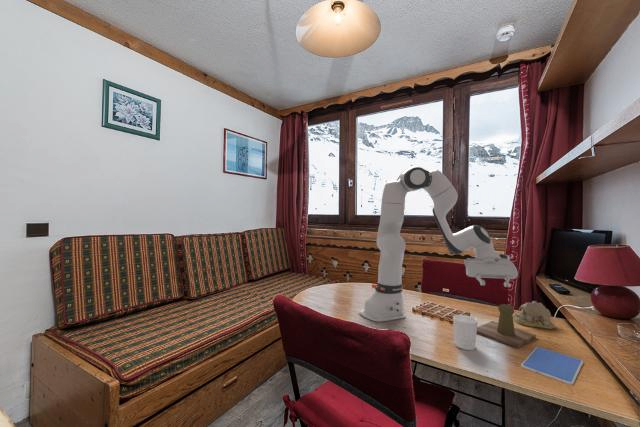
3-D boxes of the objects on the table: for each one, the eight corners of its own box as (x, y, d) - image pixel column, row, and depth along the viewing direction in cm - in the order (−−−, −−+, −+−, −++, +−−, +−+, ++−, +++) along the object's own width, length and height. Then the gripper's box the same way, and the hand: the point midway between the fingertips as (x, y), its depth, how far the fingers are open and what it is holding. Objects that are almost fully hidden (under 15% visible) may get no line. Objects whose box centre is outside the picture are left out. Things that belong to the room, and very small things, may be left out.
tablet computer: (572, 387, 79) (572, 383, 79) (519, 368, 89) (519, 364, 89) (583, 364, 91) (583, 360, 91) (536, 349, 101) (536, 345, 101)
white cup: (476, 353, 97) (476, 324, 97) (451, 347, 101) (451, 319, 101) (477, 344, 103) (478, 317, 103) (454, 338, 108) (454, 313, 108)
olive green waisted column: (512, 330, 113) (512, 303, 112) (517, 337, 107) (517, 308, 107) (495, 328, 115) (495, 301, 114) (499, 334, 109) (499, 306, 109)
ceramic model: (542, 319, 128) (542, 298, 128) (560, 330, 117) (561, 306, 116) (509, 318, 129) (509, 296, 129) (524, 328, 118) (524, 304, 118)
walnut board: (516, 348, 100) (516, 345, 100) (472, 331, 114) (472, 329, 114) (535, 337, 109) (535, 334, 109) (492, 323, 123) (492, 320, 123)
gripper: (464, 254, 130) (470, 280, 121) (513, 256, 126) (524, 283, 117) (461, 262, 135) (467, 287, 125) (508, 264, 131) (518, 290, 121)
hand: (495, 285), depth 121 cm, fingers open, 8 cm apart
